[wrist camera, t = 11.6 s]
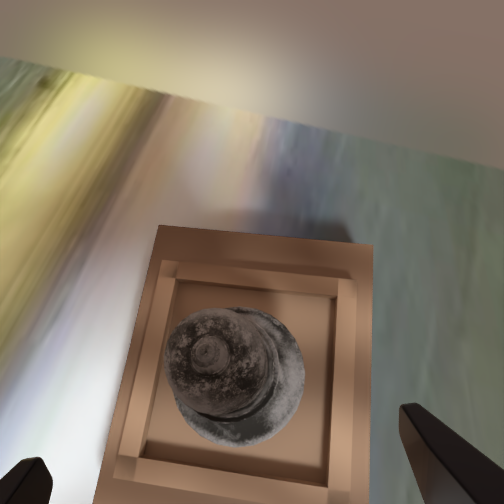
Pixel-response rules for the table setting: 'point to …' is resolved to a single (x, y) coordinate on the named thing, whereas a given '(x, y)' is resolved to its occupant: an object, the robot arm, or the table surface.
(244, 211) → the table surface
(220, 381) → the antique pepper shaker
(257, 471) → the walnut plinth
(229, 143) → the table surface
